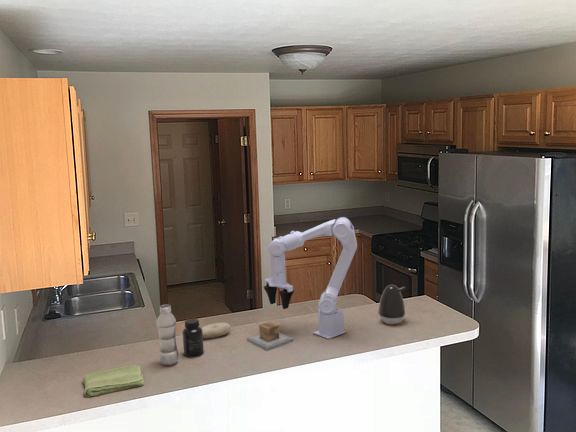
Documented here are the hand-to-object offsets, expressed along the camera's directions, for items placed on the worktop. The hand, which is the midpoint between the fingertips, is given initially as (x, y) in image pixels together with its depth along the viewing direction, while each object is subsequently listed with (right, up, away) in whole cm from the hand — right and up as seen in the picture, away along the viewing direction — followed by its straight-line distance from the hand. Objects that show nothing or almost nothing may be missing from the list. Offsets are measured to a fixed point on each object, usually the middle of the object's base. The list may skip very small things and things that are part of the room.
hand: (279, 305), depth 204 cm
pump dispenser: (+44, -8, +8) cm, 46 cm away
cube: (-3, -11, -7) cm, 13 cm away
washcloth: (-51, -19, -35) cm, 65 cm away
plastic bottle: (-37, -16, -22) cm, 46 cm away
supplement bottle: (-30, -14, -15) cm, 36 cm away
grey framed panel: (-3, -12, -6) cm, 14 cm away
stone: (-24, -12, 0) cm, 27 cm away
